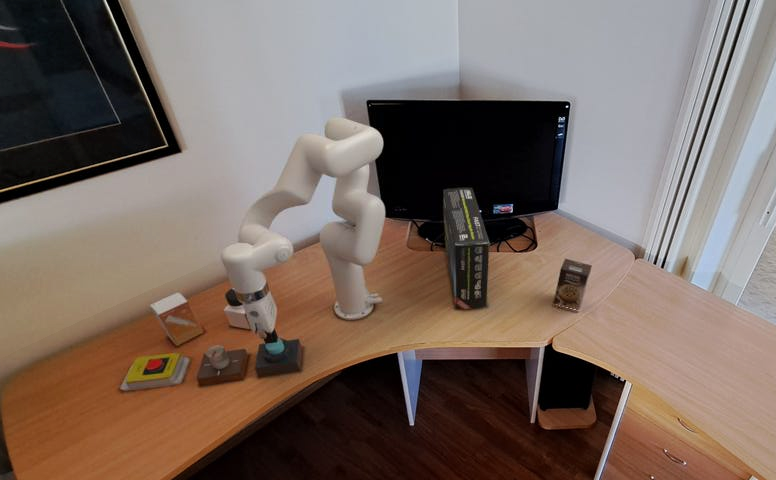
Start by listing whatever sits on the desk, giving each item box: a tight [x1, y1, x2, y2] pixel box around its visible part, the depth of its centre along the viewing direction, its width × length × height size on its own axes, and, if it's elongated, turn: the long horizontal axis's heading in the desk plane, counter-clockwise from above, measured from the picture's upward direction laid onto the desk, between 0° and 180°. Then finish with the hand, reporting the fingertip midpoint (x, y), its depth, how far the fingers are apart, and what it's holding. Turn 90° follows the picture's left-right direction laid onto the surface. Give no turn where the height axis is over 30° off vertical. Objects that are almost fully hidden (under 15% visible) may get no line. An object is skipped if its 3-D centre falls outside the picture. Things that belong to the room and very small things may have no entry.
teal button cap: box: [266, 338, 284, 355], centre depth 124 cm, size 4×4×2 cm
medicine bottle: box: [223, 287, 251, 330], centre depth 137 cm, size 7×7×12 cm
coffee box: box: [552, 258, 593, 313], centre depth 146 cm, size 9×6×16 cm
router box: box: [442, 187, 491, 310], centre depth 152 cm, size 36×11×27 cm, turn 10°
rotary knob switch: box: [195, 348, 249, 386], centre depth 124 cm, size 11×9×3 cm
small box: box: [149, 291, 204, 347], centre depth 131 cm, size 8×6×13 cm
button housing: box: [254, 338, 303, 378], centre depth 126 cm, size 11×9×6 cm
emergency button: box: [119, 352, 191, 392], centre depth 122 cm, size 9×4×15 cm
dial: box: [205, 344, 230, 369], centre depth 122 cm, size 4×4×5 cm
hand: (271, 340), depth 122 cm, fingers closed
